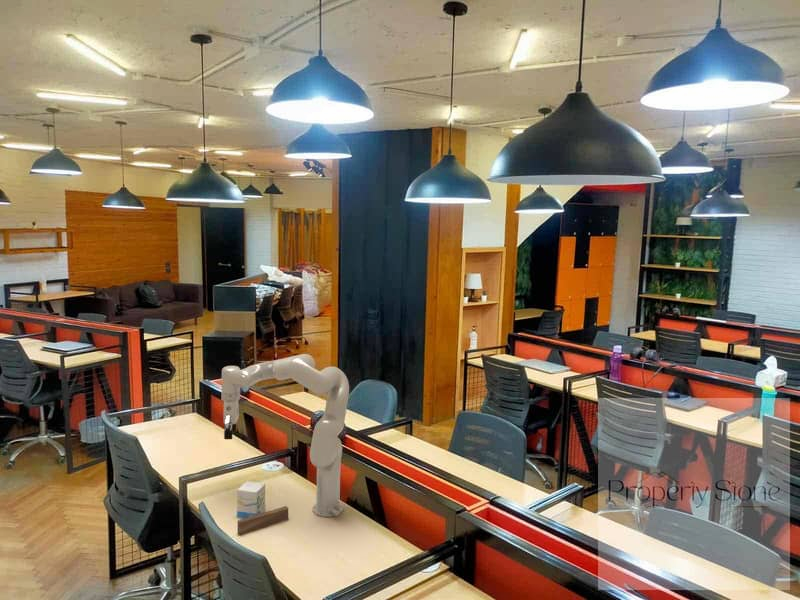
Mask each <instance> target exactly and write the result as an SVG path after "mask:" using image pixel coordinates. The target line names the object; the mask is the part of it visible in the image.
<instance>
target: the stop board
mask: <svg viewBox="0 0 800 600" xmlns="http://www.w3.org/2000/svg"><path fill="white" fill-rule="evenodd" d="M288 520H289V507H288V506H287V505H284V506H281V507H278V508H275V509H271V510H268V511H264V512H263V513H261V514H258V515H254V516H251V517H248V518H241V519H238V520H237V534H238V536H242V535H246V534H249V533H252V532H255V531H257V530H261V529H263V528H267V527H271V526H273V525H277V524H279V523H282V522H286V521H288Z"/></svg>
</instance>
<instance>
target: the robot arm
mask: <svg viewBox="0 0 800 600" xmlns="http://www.w3.org/2000/svg"><path fill="white" fill-rule="evenodd" d="M315 367H316V361H315V359H314V357H313V356H312V355H310V354H309V353H302V354H297V355H293V356H289V357H284V358H279V359H275V360H269V361H264V362H263V361H262V362H260V363H256V364H253V365H252V364H251V365H249V366H247V367H246V368H243V369H241V368H240V367H239V366H237V365H227V366H224V367H223V368H222V369H221V394H220V395H221V397H220V398H221V401H222V402H223V424H224V431H223V435H224V436H223V439H224V440H232V439H233V432H235V431H237V422H238V421H239V418H240V417H239V415H240V412H239V407H240V406H239V401H240V399H241V388H242V389H247V388H249V387H251V386H253V385H255V384H257V383H259V382H262V381H266V380H269V379H276V380H277V381H284V380H288V379H292V380H293V381H295V382H296V383H298V384H299V385H300V386H303V387H304V388H306V389H308V390H309V391H311V392H312V393H315V394H318V395H326V394H327V393H328V394H327V398H326V402H325V408H324V412H323V415H322V416H321V418H320V419H319V420H318V421H317V422H316V424H315V426H314V429H313V432H312V437H311V438H312V439H311V444H310V450H309V459H310V462H311V463H312V465H313V466H314V467H315V468H316V503H314V504H313V506H312V513H314V515H315V516H318V517H323V518H332V517H338V516H339V515H340V514H342V513H343V512H344V504H343V503H341V501H340V499H341V497H340V495H341V493H340V491H341V465H342V463H341V462H342V455H343V444H342V441H341V439H340V437H338V436H339V435H340V433H341V432H342V431H343V430H344V427H345V421H346V414H347V406H348V401H349V395H350V384H349V380H348V377H347V376H346V374H345V372H344V371H342V369H340V368H339V367H336V366H328V367H327V366H326V367H324V368H323V369H321V370H320V371H319V370H318V369H316V368H315Z"/></svg>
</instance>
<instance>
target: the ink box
mask: <svg viewBox="0 0 800 600" xmlns="http://www.w3.org/2000/svg"><path fill="white" fill-rule="evenodd" d="M236 493H237V495H236V497H237V498H236V501H237V503H236V505H237V507H236V509H237V510H236V517H237V518H241V519H245V518H248V517H251V516H254V515H258V514H261V513H264V512H265V511H264V510H266V483H263V482H257V481H248V480H247V481H246V480H245V482H244V483H243V484H242V485H240V487H239V488H238V489H237V492H236ZM263 511H264V512H263Z"/></svg>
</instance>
